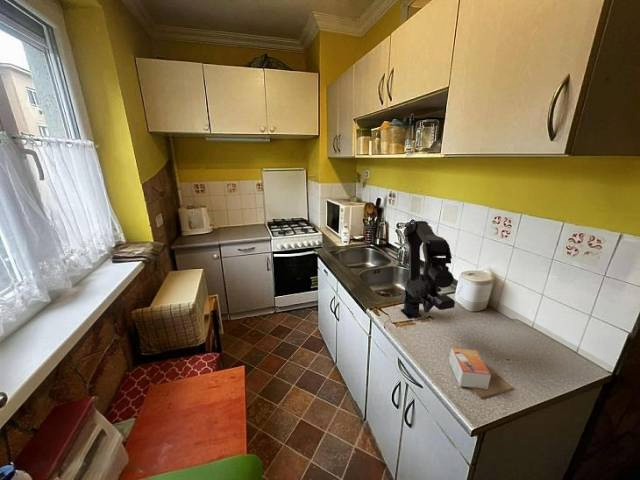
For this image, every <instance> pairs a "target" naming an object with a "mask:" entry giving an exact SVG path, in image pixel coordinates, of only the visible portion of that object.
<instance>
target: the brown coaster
mask: <svg viewBox="0 0 640 480" xmlns="http://www.w3.org/2000/svg"><path fill="white" fill-rule="evenodd" d="M484 364H485V366H486V367H487V369H488V371H489V373H490V374H491V377H490V381H489V385H488V389H482V388H474V387H469V389H471V390H472V392H474V393H475V394H476V396H477V397H478V398H479V399H481V400H483V399H487V398H489V397H492V396H495V395H499V394H501V393H505V392H507V391H511V390H513V389H514V387H513V386H512V384H510V383H509V382H507V381H506V380H505V379H504V378H503V377H502V376H500V374H499V373H497V372H496V371H495V370H494V369H492V367H490V366H489V365H488V364H486V363H485V362H484Z"/></svg>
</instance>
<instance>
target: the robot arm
mask: <svg viewBox="0 0 640 480" xmlns="http://www.w3.org/2000/svg"><path fill="white" fill-rule="evenodd" d="M403 237H404V242H405V243H406V245H407V247H408V279H407V281H406V283H405V285H404V290H403V291H402V292H401V293H400V294H401V295H400V299H401V301H402V304H403V308H402V309H401V308H400V312H401V313H402V314H403V316H405V317H406V318H408V319H412V318H413V319H414V318H418V317H422V314H421V313H420V305H422V307H423V311H424V313H425V314H428V313H429V312H430V311H431V310H432V309H433V307H435V308H436V309H438V310H439V311H440V310H441V311H442V310H443V311H445V310H448V309H454V308H455V305H456V301H455V300H454V299H453V298H452V297H450V296H449V295H447V294H441V293H440V292H442V289H445V288H448V287H450V286H452V284H453V282H454V279H455V278H454V275H453V274H452V272H451V271H450V268H449V266H448V265H447V264H450V265H451V264H452V259H453V257H452V252H451V249H450V244H449V242H448V241H447V240H446V239H445V238H444V237H442V236H439V235H436V234H435V233H434V231H433V230H432V228H431V227H430V226H429V223H428V221H426V220H415V221H413V222H412V223H410V224H409V225H406V226H405V227H404V229H403ZM421 246H422V247H421ZM421 248H422V254H423V258H424V264H423V271H422V273H421Z"/></svg>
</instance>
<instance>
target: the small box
mask: <svg viewBox="0 0 640 480" xmlns="http://www.w3.org/2000/svg"><path fill="white" fill-rule="evenodd" d="M448 359H449V360H448V362H449V364H450V367H451V369H452V372H453V373H454V376H455V379H456V381H457V384H458V386H459V387H467V388H470V387H474V388H482V389H488V385H489V381H490V377H491V374H490V373H489V371H488V369H487V367H486V366H485V364H486V363H485V362H484V361H483V358H482V357H481V355H480V354H479V352H478V350H477V349H468V348H467V349H466V348H465V349H464V348H455V347H451V349H450V353H449V358H448ZM484 363H485V364H484Z"/></svg>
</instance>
